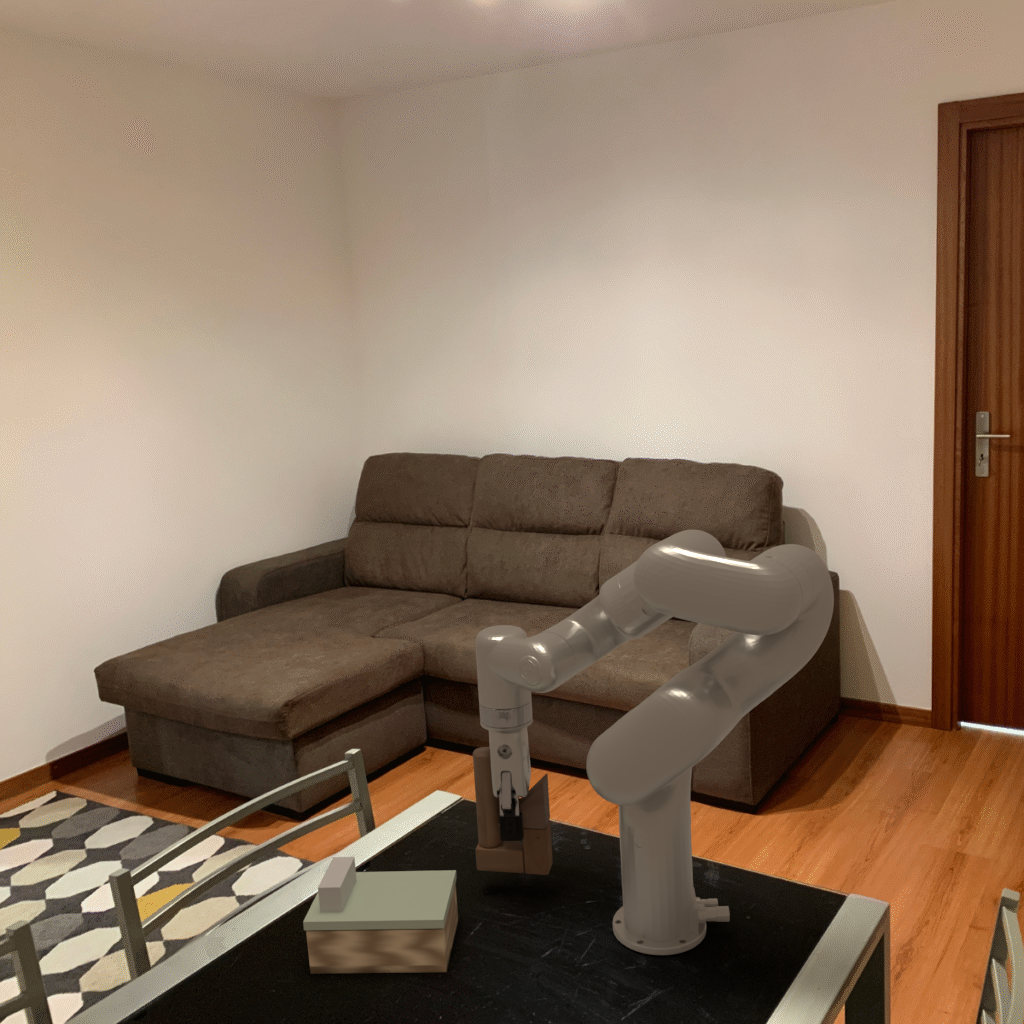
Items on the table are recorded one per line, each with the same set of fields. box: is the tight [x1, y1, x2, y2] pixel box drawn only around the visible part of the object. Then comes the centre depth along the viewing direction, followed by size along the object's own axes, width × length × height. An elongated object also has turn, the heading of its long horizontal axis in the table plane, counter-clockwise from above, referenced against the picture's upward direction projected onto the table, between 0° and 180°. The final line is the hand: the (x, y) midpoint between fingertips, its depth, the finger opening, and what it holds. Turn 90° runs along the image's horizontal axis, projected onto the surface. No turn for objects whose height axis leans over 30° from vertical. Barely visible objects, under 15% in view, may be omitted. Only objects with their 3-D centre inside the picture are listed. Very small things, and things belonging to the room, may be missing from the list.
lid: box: [302, 856, 458, 931], centre depth 137 cm, size 18×12×5 cm
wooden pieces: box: [472, 746, 553, 876], centre depth 147 cm, size 4×11×18 cm, turn 77°
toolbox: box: [305, 883, 459, 975], centre depth 137 cm, size 18×12×6 cm, turn 85°
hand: (513, 830), depth 148 cm, fingers closed on wooden pieces, 4 cm apart
